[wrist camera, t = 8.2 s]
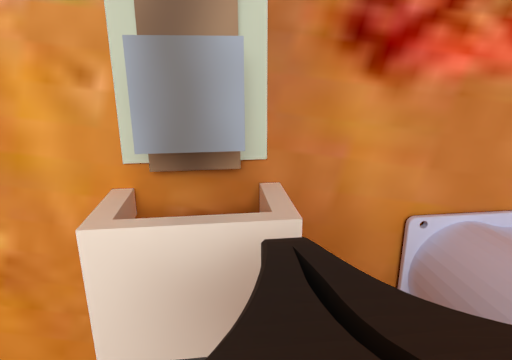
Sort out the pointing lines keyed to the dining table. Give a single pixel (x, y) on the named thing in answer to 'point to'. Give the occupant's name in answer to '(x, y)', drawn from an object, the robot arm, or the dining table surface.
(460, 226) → the robot arm
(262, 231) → the tunnel
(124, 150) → the mat
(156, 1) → the brown t-shaped bar
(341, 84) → the dining table surface
